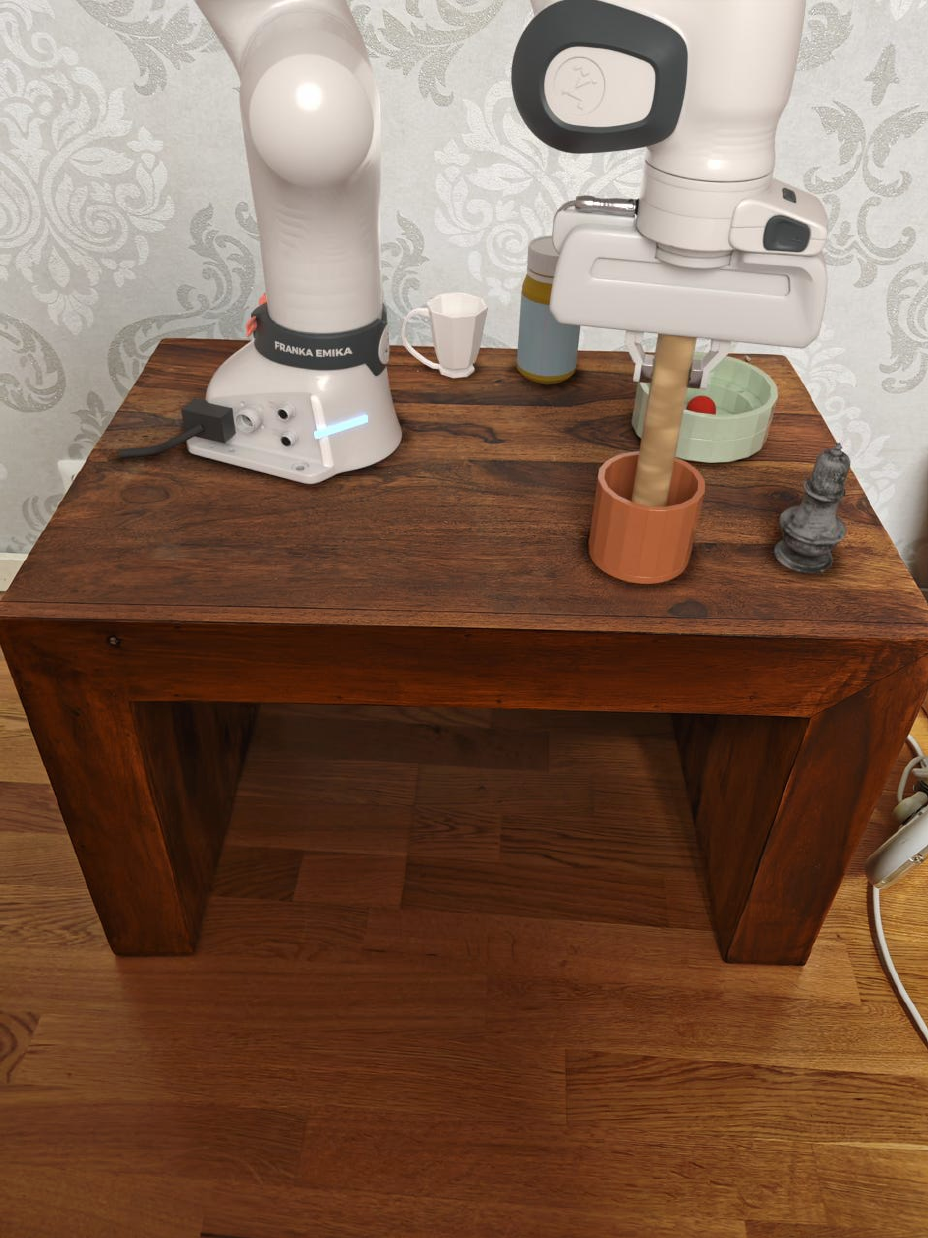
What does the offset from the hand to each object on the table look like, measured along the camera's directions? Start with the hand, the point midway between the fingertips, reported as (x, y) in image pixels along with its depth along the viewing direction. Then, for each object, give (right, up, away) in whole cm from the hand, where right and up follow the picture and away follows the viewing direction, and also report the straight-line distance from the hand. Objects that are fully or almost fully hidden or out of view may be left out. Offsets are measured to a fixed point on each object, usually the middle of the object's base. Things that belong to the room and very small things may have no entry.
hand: (669, 382), depth 78 cm
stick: (-1, -10, +7) cm, 12 cm away
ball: (+9, +3, +27) cm, 28 cm away
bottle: (-7, +10, +38) cm, 40 cm away
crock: (0, -13, +12) cm, 17 cm away
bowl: (+9, +1, +28) cm, 29 cm away
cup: (-19, +11, +38) cm, 44 cm away
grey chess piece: (+15, -13, +12) cm, 23 cm away
